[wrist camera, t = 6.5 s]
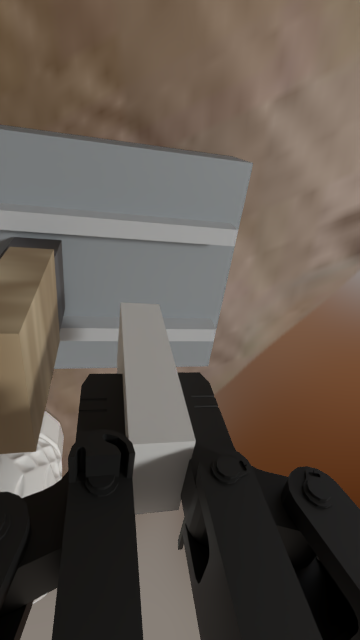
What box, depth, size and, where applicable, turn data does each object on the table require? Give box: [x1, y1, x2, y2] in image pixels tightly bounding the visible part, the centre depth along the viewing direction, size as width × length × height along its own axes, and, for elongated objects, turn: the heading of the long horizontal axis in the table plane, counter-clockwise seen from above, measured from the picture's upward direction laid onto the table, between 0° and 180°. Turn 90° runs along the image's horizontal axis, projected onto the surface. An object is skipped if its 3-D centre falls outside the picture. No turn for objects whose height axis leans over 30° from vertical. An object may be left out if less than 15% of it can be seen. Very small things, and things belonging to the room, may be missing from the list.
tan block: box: [0, 237, 65, 454], centre depth 12 cm, size 2×4×8 cm, turn 172°
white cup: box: [0, 411, 64, 604], centre depth 21 cm, size 8×8×10 cm
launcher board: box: [0, 125, 253, 369], centre depth 16 cm, size 20×12×4 cm, turn 82°
